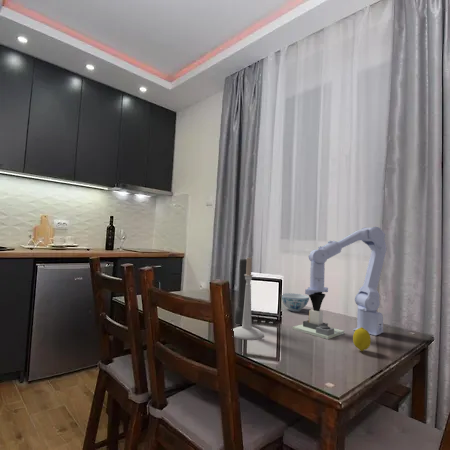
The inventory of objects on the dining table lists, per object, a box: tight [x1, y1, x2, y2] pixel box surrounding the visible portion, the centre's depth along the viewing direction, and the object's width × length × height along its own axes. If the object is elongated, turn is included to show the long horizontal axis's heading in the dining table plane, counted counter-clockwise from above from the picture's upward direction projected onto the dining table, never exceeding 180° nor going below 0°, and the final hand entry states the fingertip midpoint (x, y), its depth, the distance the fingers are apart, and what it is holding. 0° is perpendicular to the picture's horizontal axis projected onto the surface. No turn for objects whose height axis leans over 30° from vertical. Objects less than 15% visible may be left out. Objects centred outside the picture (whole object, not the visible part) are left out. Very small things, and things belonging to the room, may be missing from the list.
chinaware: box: [281, 292, 310, 312], centre depth 168 cm, size 15×15×8 cm
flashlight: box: [234, 258, 247, 326], centre depth 136 cm, size 7×28×7 cm
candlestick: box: [232, 257, 264, 341], centre depth 120 cm, size 13×13×30 cm
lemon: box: [352, 327, 372, 352], centre depth 106 cm, size 6×6×8 cm
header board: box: [292, 319, 345, 340], centre depth 128 cm, size 16×13×3 cm
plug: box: [308, 308, 324, 325], centre depth 130 cm, size 5×3×7 cm, turn 42°
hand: (316, 310), depth 130 cm, fingers closed
